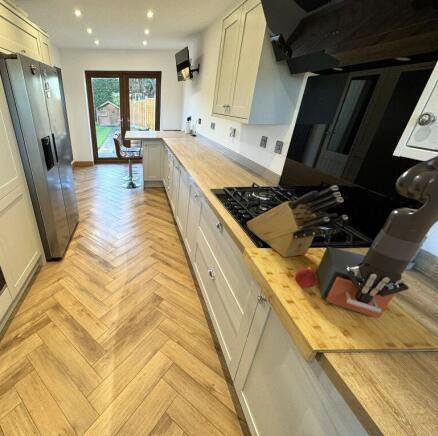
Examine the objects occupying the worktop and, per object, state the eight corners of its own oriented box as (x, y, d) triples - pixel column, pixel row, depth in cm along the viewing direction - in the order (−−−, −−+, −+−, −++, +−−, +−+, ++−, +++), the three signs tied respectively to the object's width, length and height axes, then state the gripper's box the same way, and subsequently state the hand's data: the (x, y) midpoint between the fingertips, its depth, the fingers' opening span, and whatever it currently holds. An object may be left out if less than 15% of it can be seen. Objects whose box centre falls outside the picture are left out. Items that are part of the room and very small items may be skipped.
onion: (316, 291, 77) (325, 272, 74) (302, 294, 76) (311, 275, 72) (301, 279, 82) (309, 261, 79) (288, 282, 81) (295, 263, 77)
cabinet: (377, 315, 69) (395, 287, 64) (321, 298, 75) (335, 271, 70) (362, 283, 82) (377, 258, 77) (316, 270, 87) (327, 246, 82)
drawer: (384, 331, 63) (401, 307, 59) (328, 312, 68) (340, 289, 64) (364, 287, 79) (377, 265, 75) (320, 274, 84) (329, 254, 80)
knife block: (301, 273, 85) (335, 193, 72) (244, 227, 116) (260, 165, 102) (326, 270, 88) (363, 192, 74) (264, 226, 118) (282, 165, 105)
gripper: (421, 250, 58) (386, 302, 66) (354, 236, 63) (329, 285, 71) (436, 267, 52) (396, 321, 60) (362, 249, 57) (333, 301, 65)
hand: (360, 301), depth 65 cm, fingers closed
